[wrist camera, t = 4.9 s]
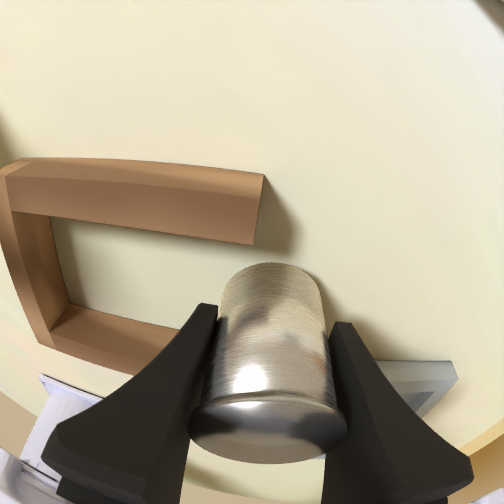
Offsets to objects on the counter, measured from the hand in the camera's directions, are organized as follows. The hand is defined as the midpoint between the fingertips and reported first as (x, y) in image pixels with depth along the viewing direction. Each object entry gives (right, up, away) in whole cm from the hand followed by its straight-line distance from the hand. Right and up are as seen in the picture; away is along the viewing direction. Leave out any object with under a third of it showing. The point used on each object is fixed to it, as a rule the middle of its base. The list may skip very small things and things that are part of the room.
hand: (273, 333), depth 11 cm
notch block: (-7, +2, +2) cm, 7 cm away
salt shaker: (0, +1, +1) cm, 2 cm away
